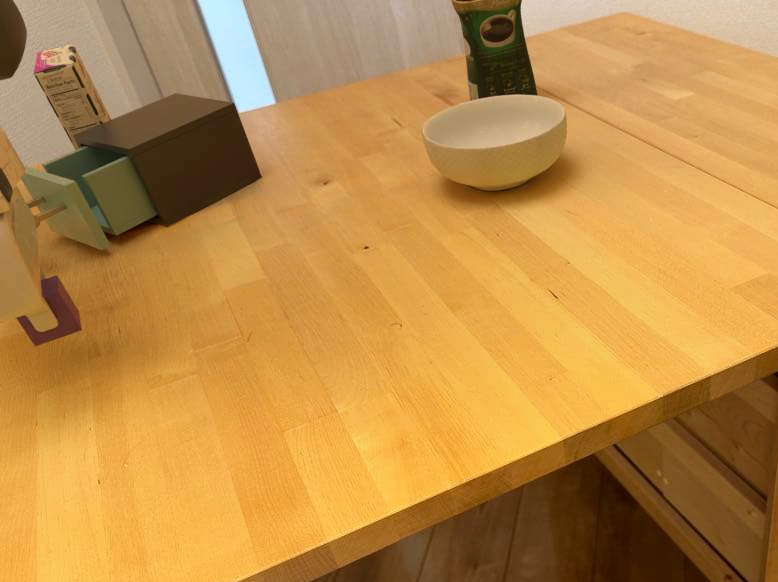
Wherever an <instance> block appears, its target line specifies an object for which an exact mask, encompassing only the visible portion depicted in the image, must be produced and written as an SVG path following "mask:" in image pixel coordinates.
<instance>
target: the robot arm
mask: <svg viewBox="0 0 778 582" xmlns="http://www.w3.org/2000/svg"><path fill="white" fill-rule="evenodd" d="M27 39H28V30H27V26H26V22H25V21H24V18H23V16H22V14H21V12H20V10H19V8H18V6H17V4H16V2H15V1H14V0H0V81H4V80H8V79H12V78H13V77H14V76H15V73H16V72H17V71H18V69H19V66H20V65H21V63H22V60H23V58H24V53H25V49H26V47H27V46H26V45H27ZM24 173H25V165H24V163H23V161H22V160H21V158H20V156H19V154H18V153H17V151H16V149H15V148H14V146H13V144H12V142H11V140H10V138H9V137H8V135H7V133H6V131H5V130H4V128H3V127H2V125H1V124H0V323H2V322H3V323H4V322H7V321H10V320H13V319H16V318H17V317H20V316H23V315H25V316H26V317H28V319H29V320H30V322H31V323H32V325H33V326H34V328H35V329H36V330H37V331H39V332H44V331H47V330H50V329H53V328H56V327H57V325H58V320H57V315H56V314H55V312H54V311H53V309H52V307H51V306H50V304H49V303H47V302H46V300H45V299H44V297H43V296H42V288H41V280H43V279H46V278H47V275H46V273H45V271H44V268H43V266H42V263H41V261H40V259H39V258H40V257H39V246H38V245H39V244H38V234H37V228H36V222H35V219H34V217H33V215H34V214H33V212H32V211H31V208H30V209H29V207H28V205H27V204H26V202H27V201H26V200H25V199H24V197H23V195H22V193H21V190H20V189H19V188H18V187H19V186H17V185H18V182H19V181H20V180H21V178H22V177H23V175H24Z"/></svg>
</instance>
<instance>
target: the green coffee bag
mask: <svg viewBox="0 0 778 582" xmlns="http://www.w3.org/2000/svg"><path fill="white" fill-rule="evenodd" d="M522 2H523V0H451V4H452V7H453V9H454V10H455V13H456V14H457V17H458V18H459V22H460V25H461V26H460V27H461V32H462V37H463V38H462V39H463V44H464V45H463V46H464V52H465V62H466V75H467V85H468V95H469V101H472V100H477V99H482V98H487V97H494V96H503V95H536V96H538V89H537V83H536V79H535V75H534V70H533V67H532V62H531V58H530V54H529V51H528V46H527V41H526V36H525V30H524V25H523V17H522Z"/></svg>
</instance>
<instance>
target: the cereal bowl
mask: <svg viewBox="0 0 778 582" xmlns="http://www.w3.org/2000/svg"><path fill="white" fill-rule="evenodd" d="M567 121H568V119H567V113H566V110H565V107H564V105H562V103H560V102H559V101H557V100H555V99H552V98H549V97H547V96H541V95H537V96H536V95H503V96H494V97H487V98H482V99H477V100H472V101H471V100H468V101H464V102H461V103H458V104H454V105H452V106H449V107H447V108H444V109H443V110H440V111H439V112H437V113H435V114H433V115H432V116H431V117H429V118H428V119H427V120H426V121H425V123H424V124H423V126H422V132H421V133H422V140H423V144H424V148H425V152H426V154H427V156H428V159H429V161H430V162H431V164H432V165H433V167H434V168H435V169H436V170H437V172H439V173H440V175H442V176H444V177H445V178H446V179H449V180H451V181H453V182H455V183H457V184H462V185H466V186H472V187H473V188H475V189H478V190H481V191H491V192H492V191H502V190H504V191H505V190H509V189H510V190H511V189H513V188H516V187H519V186H521V185H523V184H525V183H527V182H529V181H530V180H531V179H532V178H534V177H536V176H538V175H539V174H542V173H543V172H544V171H546V170H547V169H549V168H550V167H552V165H553V164H554V163H555V162H556V161H557V160H558V159H559V157H560V156H561V154H562V153H563V150H564V148H565V145H566V143H567V142H566V141H567V133H568V123H567Z"/></svg>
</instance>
